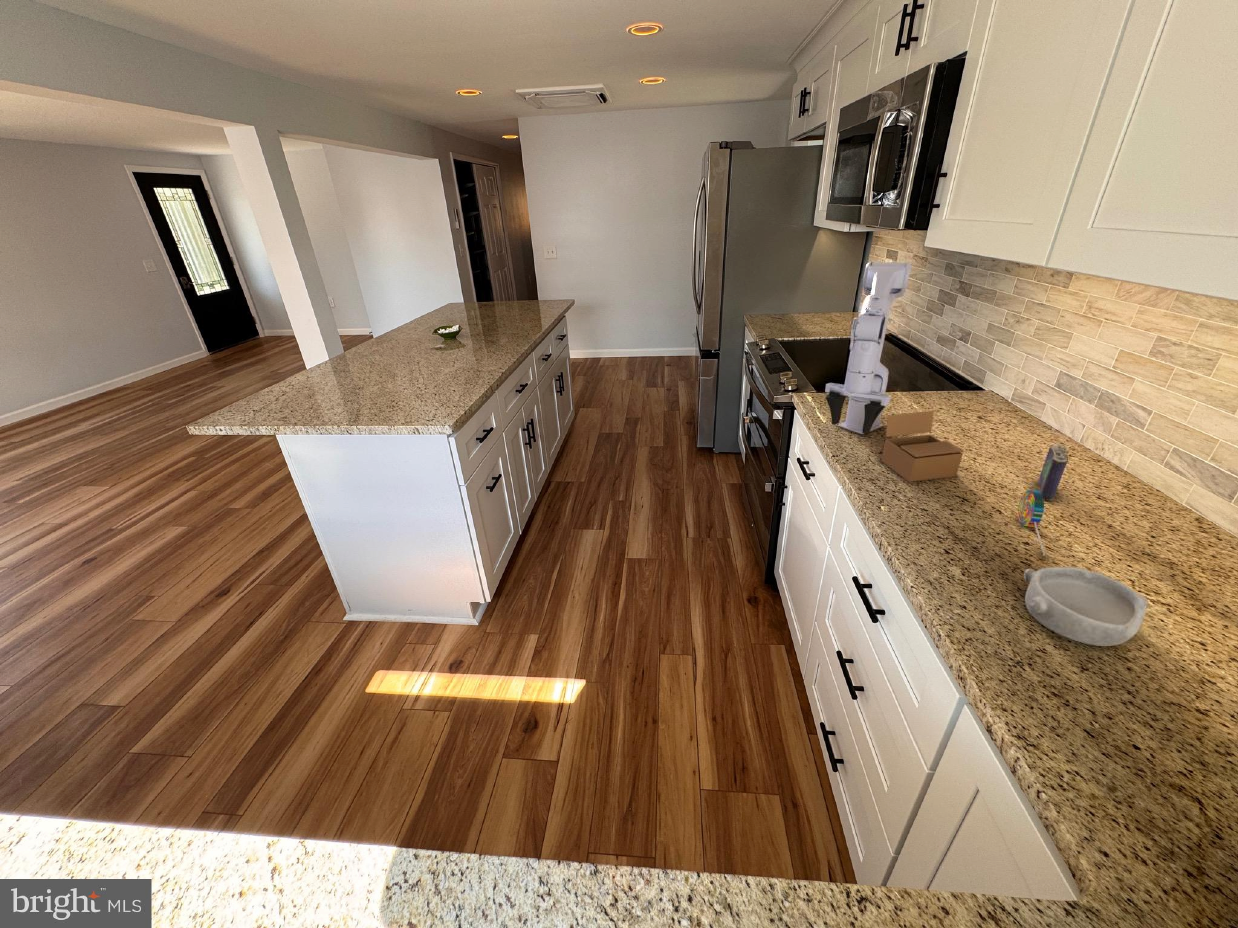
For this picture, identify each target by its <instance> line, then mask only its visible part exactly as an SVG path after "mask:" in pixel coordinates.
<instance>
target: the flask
mask: <svg viewBox="0 0 1238 928" xmlns="http://www.w3.org/2000/svg"><path fill="white" fill-rule="evenodd" d="M1067 450H1070V447H1069V446H1064V445H1060V444H1058V445H1050V446H1049V448H1048V450H1047V454H1046V457H1045V460H1044V462H1043V466H1042V468H1041V471H1040V473H1039V475H1038V479H1037V482H1036V485H1038V486H1037V489H1038V491H1040V492H1041V493H1042V495H1043V498H1044V500H1046V501H1053V500H1055V498H1056V493H1057V491H1058V487H1059V485H1060V483H1061V480H1062V477H1063V474H1064V471H1065V470H1066V467H1067V463H1068V461H1069V455H1068V452H1067Z"/></svg>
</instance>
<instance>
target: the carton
mask: <svg viewBox="0 0 1238 928" xmlns="http://www.w3.org/2000/svg"><path fill="white" fill-rule="evenodd" d="M963 452H964V449H962V448H960V447H959V446H957V445H955V444H954V443H952V442H950V441H948V440H940V439H939V438H937V437H935V436H934V435H932V434H923V435H915V436H913V435H912V436H905V437H895V438H887V439H885V440H884V445H883V449H882V454H881V459H880V462H881V463H883V464H884V465H886V466H887V467H888V468H890V469H891V470H892V471H894V472H895V473H897V474H898V475H899V476H900V477H902V478H903V479H904V480H905V481H907V482H909V483H912V482H919V481H927V480H935V479H944V478H945V479H946V478H952V477H957V474H958V472H959V468H960V464H961V461H962V459H963V454H964V453H963Z"/></svg>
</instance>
